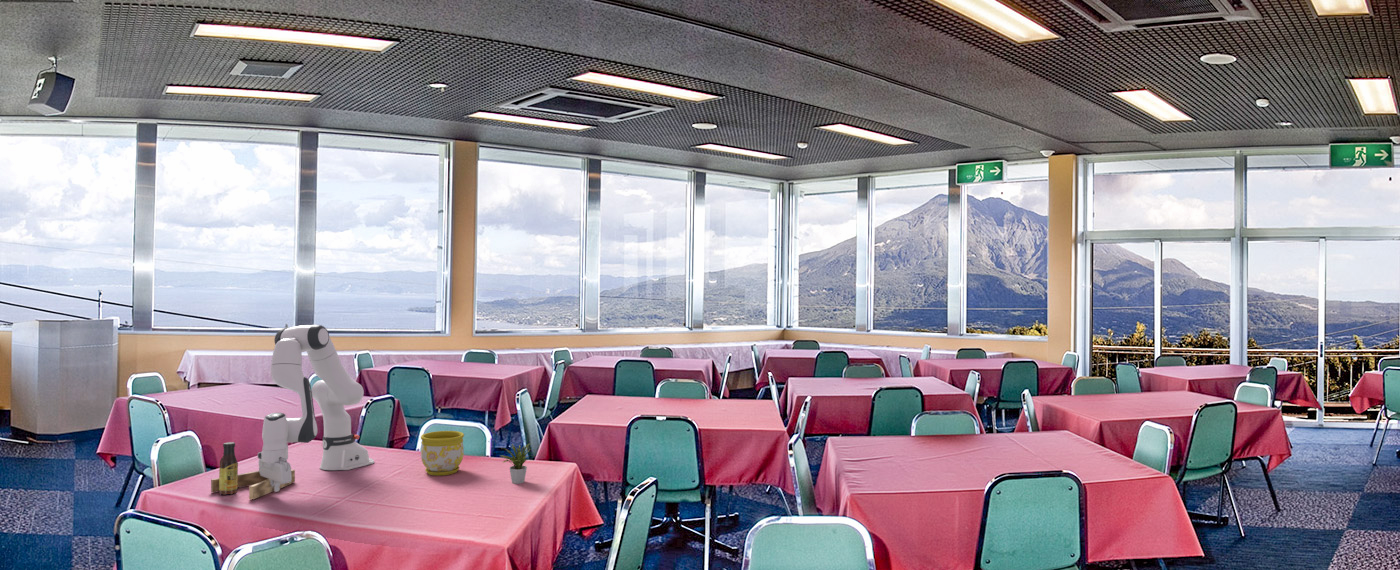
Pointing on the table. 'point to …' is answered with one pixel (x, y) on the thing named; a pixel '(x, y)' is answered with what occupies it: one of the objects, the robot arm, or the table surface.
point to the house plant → (517, 464)
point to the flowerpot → (442, 452)
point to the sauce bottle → (228, 470)
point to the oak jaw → (265, 487)
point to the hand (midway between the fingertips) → (275, 490)
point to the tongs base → (241, 480)
